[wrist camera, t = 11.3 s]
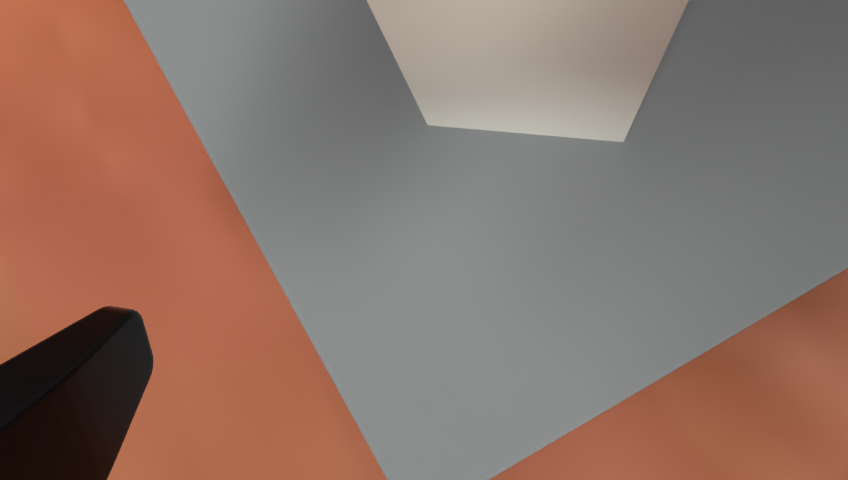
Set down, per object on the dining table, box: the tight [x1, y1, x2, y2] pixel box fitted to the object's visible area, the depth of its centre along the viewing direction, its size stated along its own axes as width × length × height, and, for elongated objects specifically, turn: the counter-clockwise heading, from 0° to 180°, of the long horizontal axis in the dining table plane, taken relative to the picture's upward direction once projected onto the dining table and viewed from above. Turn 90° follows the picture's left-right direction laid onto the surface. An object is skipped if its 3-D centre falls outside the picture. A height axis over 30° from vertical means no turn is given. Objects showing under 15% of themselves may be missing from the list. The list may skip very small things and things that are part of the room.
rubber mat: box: [124, 0, 848, 480], centre depth 18 cm, size 16×16×1 cm
